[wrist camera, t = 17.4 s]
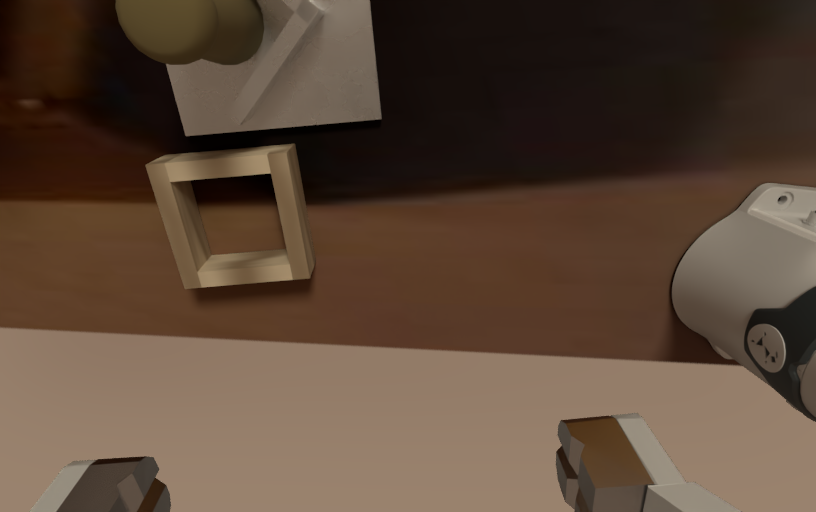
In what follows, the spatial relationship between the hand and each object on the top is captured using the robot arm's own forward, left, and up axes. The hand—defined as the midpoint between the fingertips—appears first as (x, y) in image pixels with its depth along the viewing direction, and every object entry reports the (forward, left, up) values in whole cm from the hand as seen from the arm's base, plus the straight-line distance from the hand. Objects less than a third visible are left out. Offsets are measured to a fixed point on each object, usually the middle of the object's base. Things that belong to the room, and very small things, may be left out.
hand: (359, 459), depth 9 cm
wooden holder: (+13, +5, -33) cm, 36 cm away
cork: (+11, -10, -32) cm, 36 cm away
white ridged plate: (+8, -10, -33) cm, 35 cm away
